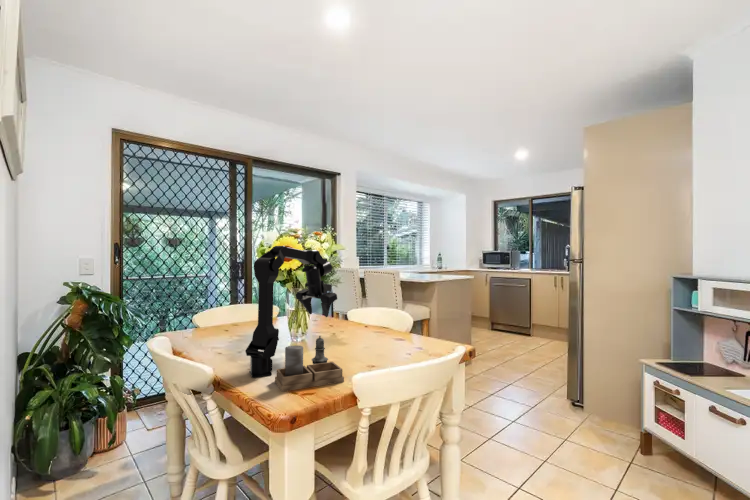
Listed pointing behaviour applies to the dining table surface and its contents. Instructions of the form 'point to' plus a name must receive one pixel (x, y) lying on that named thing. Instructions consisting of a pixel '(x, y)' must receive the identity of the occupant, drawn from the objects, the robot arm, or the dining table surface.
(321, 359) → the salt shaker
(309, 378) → the condiment rack
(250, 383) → the dining table surface
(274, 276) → the robot arm
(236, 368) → the dining table surface
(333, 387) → the dining table surface
